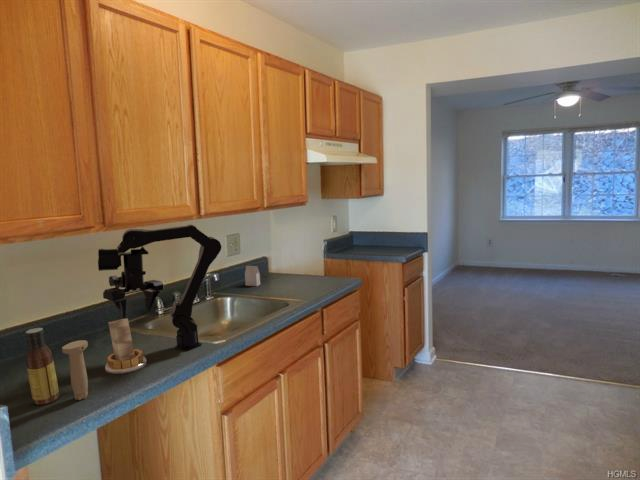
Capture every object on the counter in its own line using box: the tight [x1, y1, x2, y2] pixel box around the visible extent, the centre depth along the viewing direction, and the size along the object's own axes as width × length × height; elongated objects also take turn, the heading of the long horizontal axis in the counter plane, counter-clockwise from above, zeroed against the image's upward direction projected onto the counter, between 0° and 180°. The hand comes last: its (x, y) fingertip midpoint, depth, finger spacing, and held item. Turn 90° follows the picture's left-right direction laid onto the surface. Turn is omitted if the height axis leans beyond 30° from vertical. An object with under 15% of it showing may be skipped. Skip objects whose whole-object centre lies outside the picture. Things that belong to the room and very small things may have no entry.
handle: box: [61, 339, 89, 401], centre depth 127 cm, size 5×6×15 cm
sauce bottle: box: [24, 327, 60, 406], centre depth 126 cm, size 7×6×20 cm
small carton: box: [244, 265, 261, 287], centre depth 247 cm, size 4×7×10 cm, turn 68°
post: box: [107, 318, 135, 360], centre depth 148 cm, size 4×4×13 cm
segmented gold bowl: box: [104, 348, 148, 375], centre depth 148 cm, size 12×12×4 cm
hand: (135, 315), depth 155 cm, fingers open, 9 cm apart
